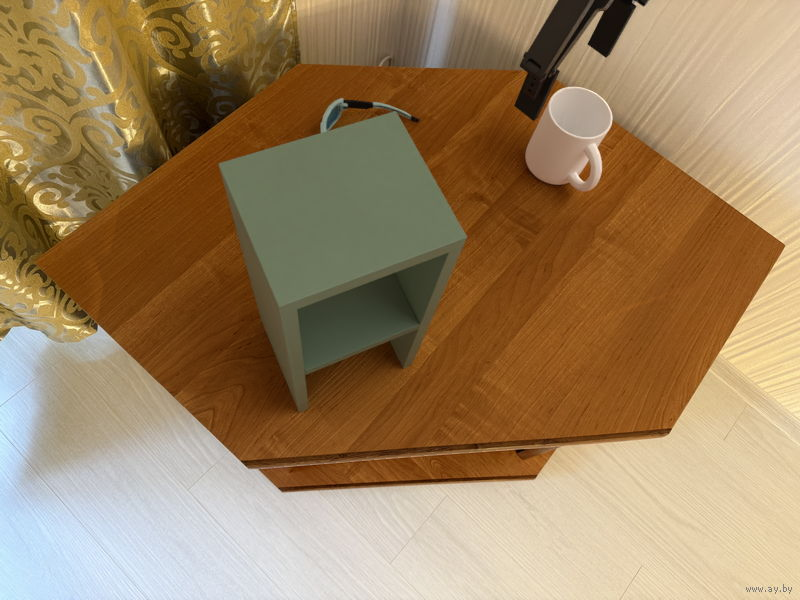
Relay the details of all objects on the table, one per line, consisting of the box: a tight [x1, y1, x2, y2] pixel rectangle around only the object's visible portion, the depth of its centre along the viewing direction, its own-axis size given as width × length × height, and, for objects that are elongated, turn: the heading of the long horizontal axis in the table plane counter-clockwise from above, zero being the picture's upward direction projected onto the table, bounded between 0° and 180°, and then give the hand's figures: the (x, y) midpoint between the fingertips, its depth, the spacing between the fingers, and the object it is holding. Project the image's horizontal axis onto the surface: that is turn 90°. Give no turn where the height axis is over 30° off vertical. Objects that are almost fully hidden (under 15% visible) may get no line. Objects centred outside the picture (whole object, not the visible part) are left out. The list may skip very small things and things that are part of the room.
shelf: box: [218, 111, 468, 413], centre depth 56 cm, size 12×14×30 cm
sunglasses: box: [319, 97, 421, 133], centre depth 79 cm, size 14×15×5 cm
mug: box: [524, 86, 613, 193], centre depth 78 cm, size 12×8×10 cm
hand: (563, 79), depth 65 cm, fingers open, 13 cm apart
